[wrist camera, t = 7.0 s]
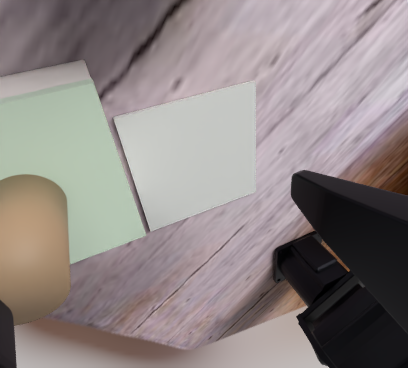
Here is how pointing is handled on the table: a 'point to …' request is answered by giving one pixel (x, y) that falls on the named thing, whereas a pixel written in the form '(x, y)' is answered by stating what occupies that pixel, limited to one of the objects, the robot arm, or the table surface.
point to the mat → (192, 152)
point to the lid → (57, 194)
